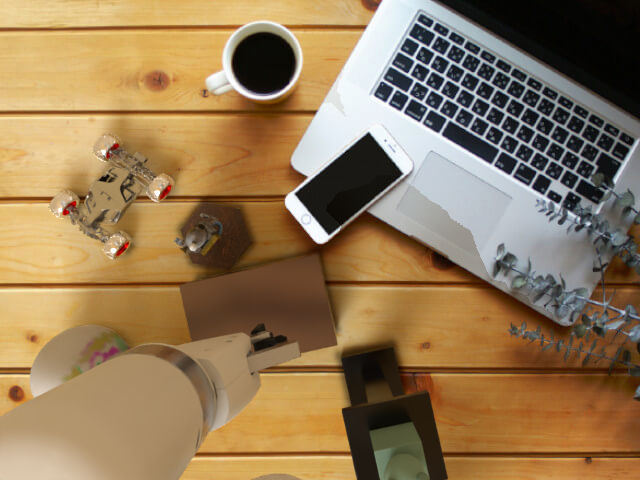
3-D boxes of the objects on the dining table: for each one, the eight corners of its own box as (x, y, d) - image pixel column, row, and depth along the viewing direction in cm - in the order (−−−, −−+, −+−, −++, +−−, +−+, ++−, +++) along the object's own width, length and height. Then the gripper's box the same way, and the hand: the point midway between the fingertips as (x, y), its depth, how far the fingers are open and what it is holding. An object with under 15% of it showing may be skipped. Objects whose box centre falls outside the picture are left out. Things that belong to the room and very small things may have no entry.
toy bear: (420, 460, 52) (439, 504, 44) (377, 469, 52) (388, 515, 44) (412, 421, 52) (429, 457, 44) (369, 430, 52) (377, 468, 44)
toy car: (120, 260, 79) (105, 262, 73) (57, 212, 79) (38, 210, 74) (180, 181, 78) (169, 177, 73) (117, 133, 79) (102, 125, 73)
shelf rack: (336, 329, 78) (337, 345, 67) (217, 356, 78) (198, 375, 67) (318, 252, 78) (317, 254, 67) (199, 278, 78) (178, 285, 67)
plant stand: (408, 399, 78) (448, 479, 52) (349, 412, 78) (360, 498, 52) (395, 340, 78) (429, 392, 52) (336, 353, 78) (341, 411, 52)
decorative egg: (132, 408, 79) (86, 449, 64) (54, 389, 79) (-10, 424, 64) (151, 330, 79) (110, 352, 64) (73, 310, 79) (14, 327, 64)
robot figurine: (217, 187, 78) (198, 178, 66) (265, 227, 78) (253, 225, 66) (170, 243, 78) (142, 244, 66) (217, 283, 78) (197, 291, 66)
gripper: (20, 503, 31) (131, 412, 48) (304, 441, 31) (314, 371, 48) (-6, 380, 31) (114, 332, 48) (276, 316, 31) (295, 291, 48)
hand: (213, 351), depth 48 cm, fingers open, 9 cm apart
